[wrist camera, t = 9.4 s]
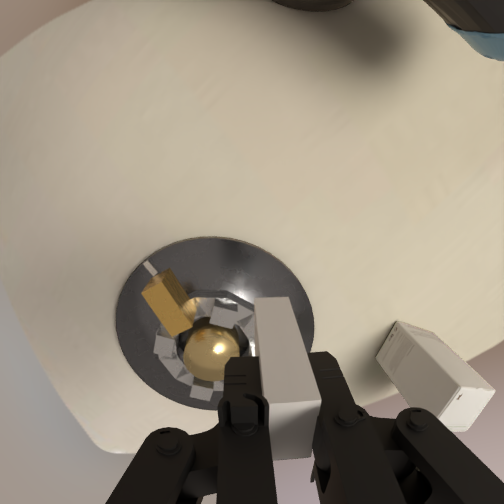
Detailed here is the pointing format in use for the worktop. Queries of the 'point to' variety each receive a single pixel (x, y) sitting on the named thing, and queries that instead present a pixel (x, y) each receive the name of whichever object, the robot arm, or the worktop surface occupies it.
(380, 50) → the worktop surface
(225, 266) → the bowl
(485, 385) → the skincare box
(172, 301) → the ring nut
